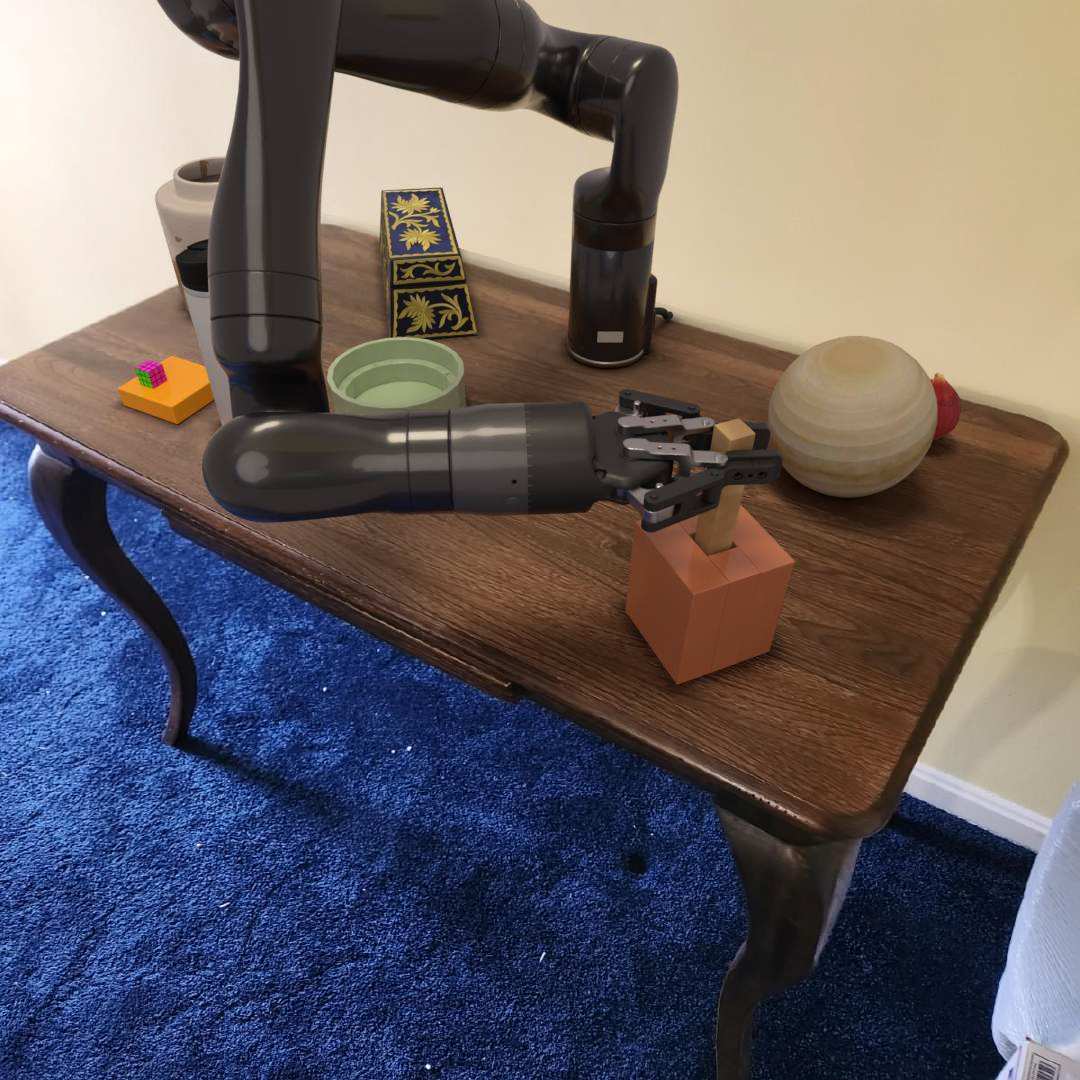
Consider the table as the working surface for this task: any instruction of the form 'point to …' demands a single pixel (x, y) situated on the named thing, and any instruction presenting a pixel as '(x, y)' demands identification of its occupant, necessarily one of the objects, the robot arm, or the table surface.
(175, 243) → the vase
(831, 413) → the decorative ball
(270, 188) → the robot arm
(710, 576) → the stick holder
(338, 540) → the table surface
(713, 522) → the long square wooden peg
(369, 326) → the table surface
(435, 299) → the decorative box
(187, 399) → the orange flat block
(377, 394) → the bowl
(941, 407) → the onion
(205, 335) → the travel mug
